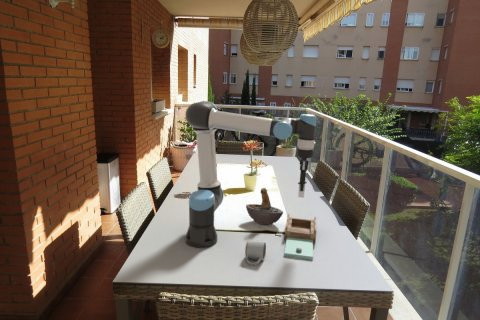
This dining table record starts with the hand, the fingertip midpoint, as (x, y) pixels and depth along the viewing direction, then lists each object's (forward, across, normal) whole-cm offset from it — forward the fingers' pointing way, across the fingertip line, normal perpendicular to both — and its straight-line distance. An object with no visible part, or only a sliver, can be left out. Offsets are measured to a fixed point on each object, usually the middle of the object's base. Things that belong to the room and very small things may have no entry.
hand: (301, 196), depth 165 cm
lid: (+23, -10, -1) cm, 25 cm away
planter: (+23, +15, +19) cm, 33 cm away
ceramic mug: (+23, -25, +16) cm, 37 cm away
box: (+22, +8, -1) cm, 23 cm away
